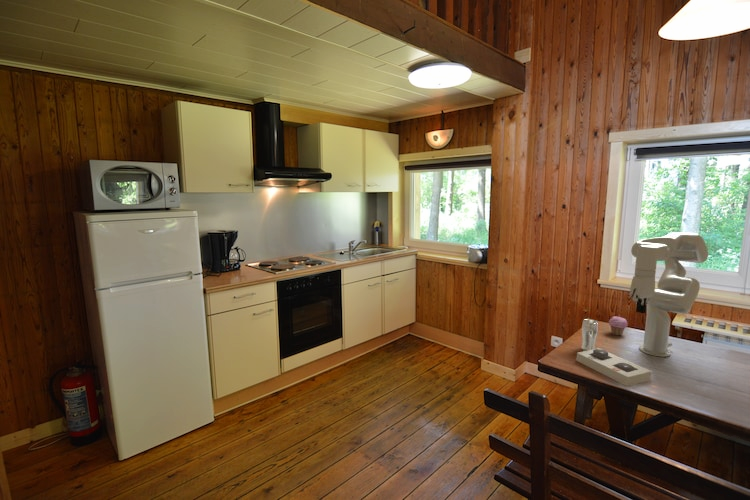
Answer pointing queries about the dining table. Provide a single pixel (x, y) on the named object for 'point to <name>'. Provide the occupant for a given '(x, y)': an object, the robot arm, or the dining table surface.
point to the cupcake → (617, 325)
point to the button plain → (600, 354)
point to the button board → (614, 368)
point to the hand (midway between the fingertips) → (640, 312)
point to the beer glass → (589, 334)
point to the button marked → (625, 367)
